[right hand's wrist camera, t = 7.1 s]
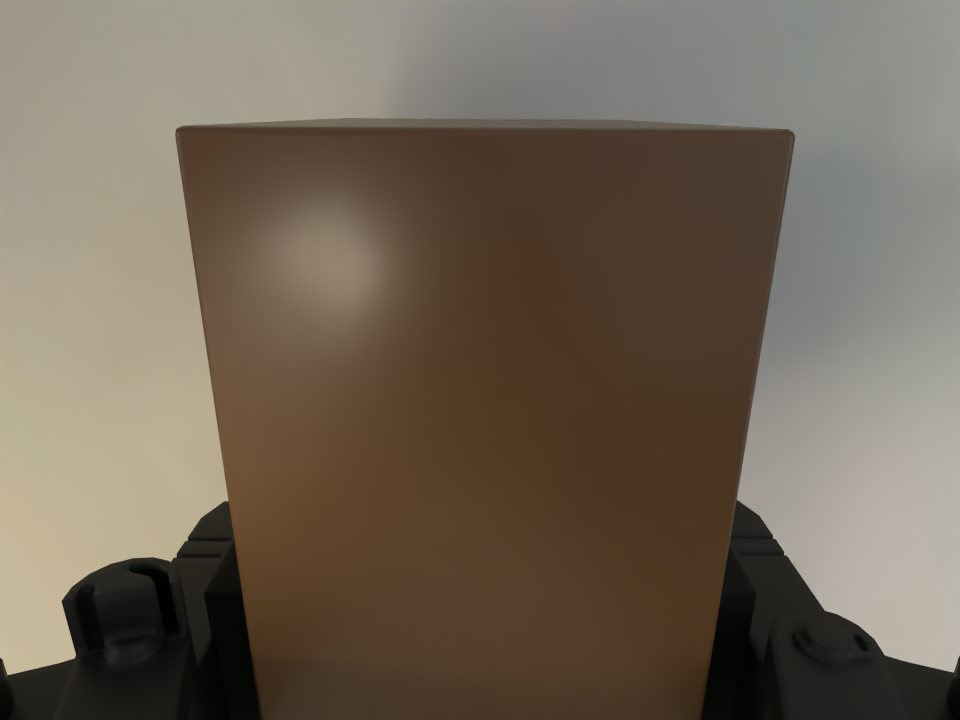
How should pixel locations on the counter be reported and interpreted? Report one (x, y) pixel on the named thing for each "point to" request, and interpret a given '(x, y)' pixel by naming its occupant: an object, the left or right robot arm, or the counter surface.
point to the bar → (482, 403)
